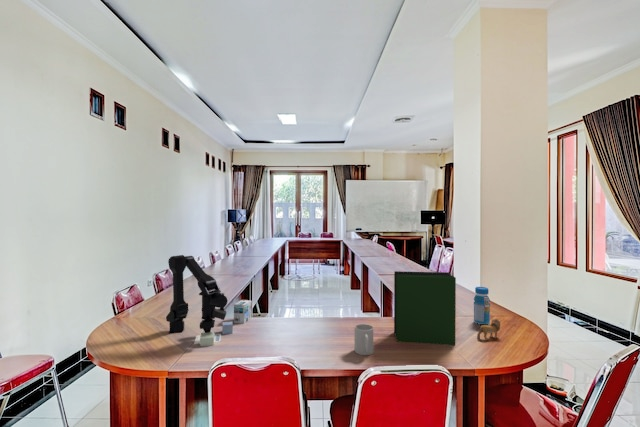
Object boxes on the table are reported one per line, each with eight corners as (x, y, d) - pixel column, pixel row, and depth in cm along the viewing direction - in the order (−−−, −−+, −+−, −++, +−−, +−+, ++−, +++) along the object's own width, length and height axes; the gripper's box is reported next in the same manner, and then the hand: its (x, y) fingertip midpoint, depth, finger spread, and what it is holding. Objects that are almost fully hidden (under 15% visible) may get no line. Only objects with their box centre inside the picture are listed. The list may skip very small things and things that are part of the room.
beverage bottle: (473, 324, 189) (474, 288, 189) (473, 319, 197) (473, 285, 197) (490, 326, 186) (490, 290, 186) (489, 321, 194) (489, 286, 194)
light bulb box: (244, 324, 188) (244, 305, 188) (233, 323, 189) (233, 304, 189) (252, 318, 198) (252, 300, 198) (241, 317, 200) (241, 299, 200)
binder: (396, 342, 162) (396, 276, 162) (393, 331, 177) (394, 270, 177) (455, 345, 159) (455, 277, 159) (447, 334, 174) (447, 272, 173)
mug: (353, 347, 156) (353, 324, 156) (371, 347, 156) (371, 323, 156) (357, 359, 144) (357, 333, 144) (376, 358, 144) (377, 333, 144)
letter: (193, 344, 159) (193, 343, 159) (196, 336, 169) (196, 335, 169) (220, 342, 162) (220, 341, 162) (221, 334, 172) (221, 333, 172)
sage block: (200, 346, 156) (199, 338, 156) (201, 341, 162) (201, 332, 161) (213, 345, 157) (213, 337, 157) (214, 339, 163) (214, 331, 163)
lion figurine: (493, 334, 174) (493, 316, 174) (503, 337, 169) (503, 319, 169) (474, 338, 167) (474, 320, 167) (483, 342, 163) (483, 324, 162)
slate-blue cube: (222, 335, 171) (222, 325, 171) (222, 331, 176) (222, 322, 176) (232, 334, 173) (232, 324, 173) (232, 330, 177) (232, 321, 177)
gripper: (224, 309, 157) (225, 342, 157) (225, 298, 175) (225, 328, 175) (199, 310, 154) (199, 344, 154) (203, 300, 172) (203, 330, 172)
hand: (208, 336), depth 164 cm, fingers closed
